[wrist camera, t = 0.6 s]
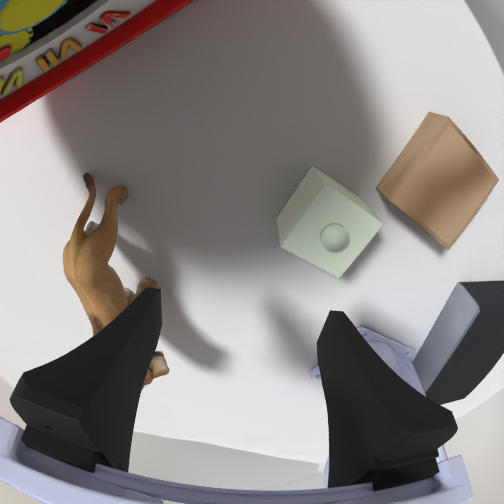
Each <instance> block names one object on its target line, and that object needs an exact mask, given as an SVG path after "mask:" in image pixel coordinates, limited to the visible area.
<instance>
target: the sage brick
mask: <svg viewBox="0 0 504 504" xmlns="http://www.w3.org/2000/svg"><path fill="white" fill-rule="evenodd" d="M276 223H277V229H278V235H279V241H280V247H281V248H283V249H285V250H287V251H289V252H290V253H292V254H294V255H296V256H298V257H300V258H302V259H304V260H306V261H307V262H309V263H311V264H313V265H315V266H317V267H319V268H321V269H323V270H324V271H326V272H328V273H330V274H332V275H334V276H336V277H337V278H340V277H341V275H342V274H343V273H344V272H345V271H346V270H347V268H348V267H349V266H350V265H351V264H352V262H353V261H354V260H355V259H356V258H357V256H358V255H359V254H360V253H361V252H362V250H363V249H364V248H365V247H366V245H367V244H368V243H369V242H370V240H371V239H372V238H373V237H374V235H375V234H376V233H377V232H378V230H379V229H380V228H381V227H382V225H383V223H382V221H381V220H380V219H379V218H378V217H377V215H376V214H375V213H374V212H373V211H372V209H371V208H370V207H369V206H368V205H367V204H366V202H365V201H364V200H363V199H361V198H360V197H359V196H357V195H356V194H354V193H353V192H351V191H350V190H349V189H347V188H346V187H344V186H343V185H341V184H340V183H338V182H337V181H335V180H334V179H332V178H331V177H329V176H328V175H326V174H325V173H323V172H321V171H320V170H318V169H317V168H315V167H314V166H312V167H311V168H310V170H309V171H308V173H307V174H306V176H305V177H304V178H303V180H302V181H301V183H300V184H299V186H298V187H297V189H296V190H295V192H294V193H293V195H292V196H291V198H290V199H289V200H288V202H287V203H286V205H285V206H284V208H283V209H282V211H281V212H280V214H279V215H278V217H277V218H276Z"/></svg>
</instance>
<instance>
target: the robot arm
mask: <svg viewBox="0 0 504 504" xmlns="http://www.w3.org/2000/svg"><path fill="white" fill-rule="evenodd" d="M161 326H162V315H161V289H156V288H150V287H146V288H145V289H144V290H143V291H142V292H141V293H140V294H139V295H138V296H137V297H136V298H135V299H134V300H133V301H132V302H131V303H130V304H129V305H128V306H127V307H126V308H125V309H124V310H123V311H122V312H121V313H120V314H119V315H118V316H117V317H116V318H115V319H113V320H112V321H111V322H110V323H109V324H108V325H106V326H105V327H104V328H103V329H102V330H101V331H99V332H98V333H97V334H96V335H94V336H93V337H92V338H90V339H89V340H87V341H86V342H85V343H83V344H82V345H80V346H78V347H77V348H75V349H74V350H72V351H70V352H69V353H67V354H65V355H63V356H61V357H59V358H58V359H55V360H53V361H51V362H49V363H47V364H45V365H42V366H40V367H37V368H34V369H32V370H29V371H26V372H24V373H23V374H22V376H21V378H20V379H19V381H18V383H17V385H16V387H15V389H14V391H13V393H12V396H11V397H10V402H11V405H12V407H13V408H14V410H15V411H16V412H17V413H18V414H19V416H20V417H21V418H22V419H23V421H24V422H25V423H26V424H27V426H26V428H25V431H24V430H23V429H22V428H20V427H19V426H17V425H15V424H13V423H11V422H9V421H7V420H6V419H4V418H2V417H0V480H1V481H3V482H5V483H6V484H8V485H9V486H11V487H13V488H14V489H16V490H18V491H20V492H22V493H23V494H26V495H27V496H29V497H31V498H33V499H35V500H37V501H39V502H41V503H43V504H163V501H162V500H168V501H174V502H179V503H186V504H465V503H467V502H468V501H471V500H473V498H474V496H473V492H472V488H471V485H470V481H469V478H468V475H467V472H466V468H465V465H464V462H463V459H462V456H461V455H458V456H455V457H452V458H449V459H448V458H447V455H446V451H445V448H444V445H443V444H445V443H446V442H447V441H448V440H450V439H451V438H452V437H453V436H454V434H455V433H456V432H457V429H458V427H457V424H456V421H455V419H454V416H453V414H452V411H450V410H448V409H446V408H444V407H442V406H441V405H439V404H437V403H435V402H433V401H432V400H430V399H429V398H427V397H426V395H425V392H424V390H423V387H422V385H421V382H420V380H419V377H418V375H417V373H416V370H415V368H414V365H413V363H412V361H411V359H412V358H413V357H414V356H415V355H416V351H415V350H413V349H411V348H409V347H407V346H404V345H402V344H400V343H398V342H395V341H393V340H391V339H389V338H386V337H384V336H382V335H380V334H377V333H375V332H373V331H371V330H368V329H366V328H364V327H359V328H356V327H355V326H354V325H353V323H352V322H351V321H350V319H349V318H348V317H347V316H346V314H345V313H344V312H343V311H331V310H330V312H329V315H328V317H327V319H326V322H325V324H324V327H323V329H322V331H321V334H320V336H319V338H318V341H317V356H318V365H317V366H316V367H315V368H314V369H313V370H312V371H311V372H310V376H311V377H313V378H316V379H319V380H322V385H323V390H324V395H325V400H326V405H327V412H328V426H329V457H328V460H327V462H326V464H325V468H324V481H325V487H326V488H325V489H311V490H292V491H291V490H289V491H258V490H235V489H221V488H212V487H203V486H194V485H188V484H181V483H175V482H169V481H164V480H159V479H154V478H149V477H144V476H140V475H136V474H131V473H128V468H129V458H130V449H131V442H132V435H133V429H134V423H135V417H136V412H137V407H138V402H139V398H140V393H141V390H142V387H143V384H144V381H145V378H146V375H147V372H148V369H149V366H150V364H151V361H152V358H153V355H154V352H155V350H156V347H157V344H158V339H159V335H160V331H161ZM364 333H365V334H364ZM160 499H162V500H160Z"/></svg>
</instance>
